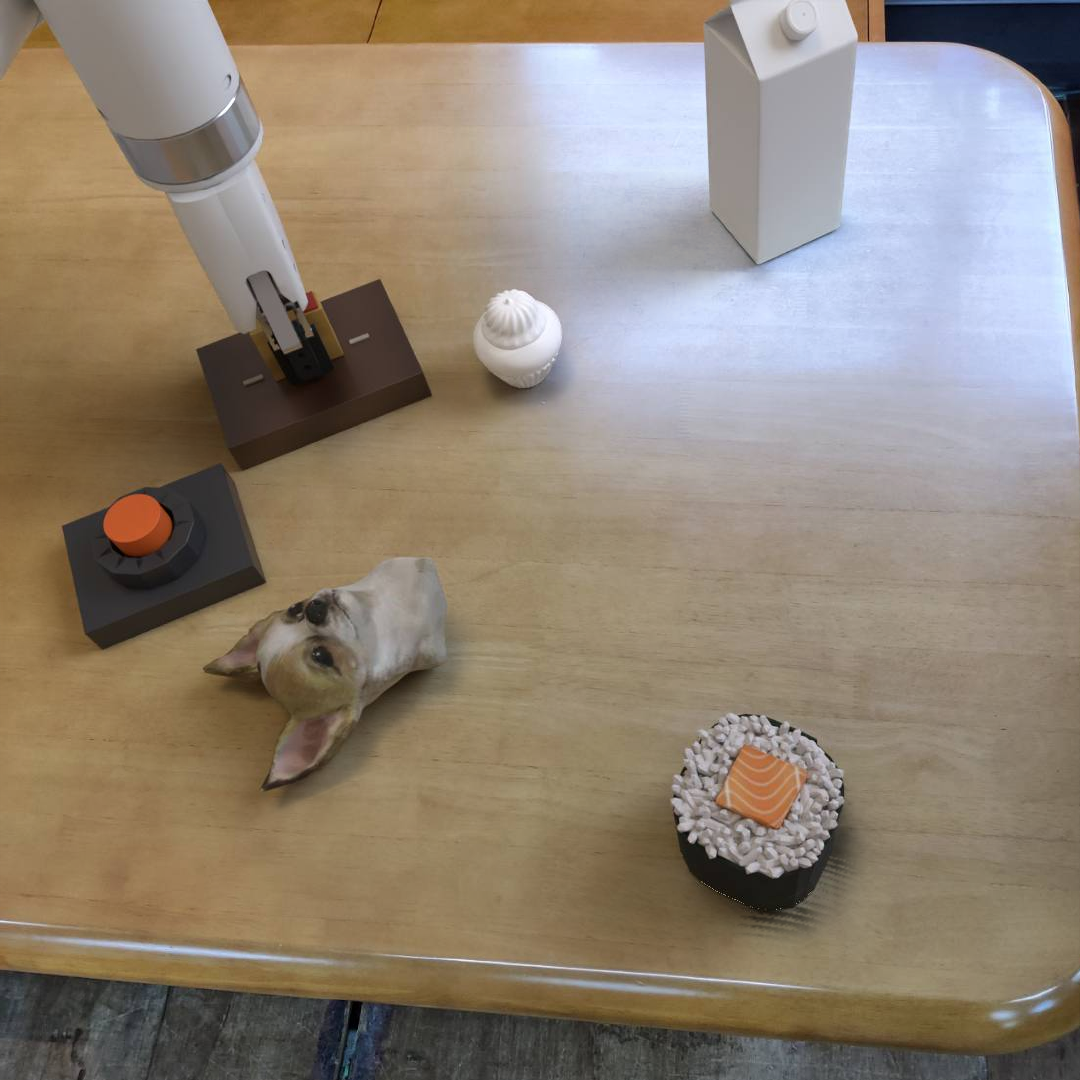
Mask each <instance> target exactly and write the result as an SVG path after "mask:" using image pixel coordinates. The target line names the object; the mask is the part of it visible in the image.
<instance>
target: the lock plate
mask: <svg viewBox="0 0 1080 1080" xmlns="http://www.w3.org/2000/svg"><path fill="white" fill-rule="evenodd" d="M320 302H321V305H322V307H323V309H324V311H325V313H326V315H327V318H328V320H329V322H330V324H331V326H332V328H333V331H334V333H335V335H336V337H337V339H338V342H339V344H340V347H341V349H342V351H343V354H344V355H343V356H340V357H338V358H335V359H332V360H331V361H332V363H333V366H334V369H333V371H332V372H330V373H327V374H324V375H322V376H319V377H317V378H314V379H312V380H309V381H307V382H304V383H301V384H299V385H296V386H292V385H290V384H289V382H288V380H287V378H284V379H281V380H278V381H275V379H274V377H273V375H272V374H271V372H270V370H269V368H268V366H267V365H266V363H265V361H264V359H263V357H262V356H261V354H260V352H259V350H258V349H257V347H256V345H255V343H254V341H253V340H252V338H251V336H250V333H249V332H247V333H246V334H242V333H240V332H237V333H235V334H232V335H229V336H226V337H224V338H221V339H219V340H216V341H214V342H211V343H208V344H206V345H203V346H200V347H198V348H196V349H195V351H196V354H197V357H198V361H199V364H200V367H201V369H202V372H203V376H204V379H205V383H206V384H207V388H208V391H209V392H208V393H209V395H210V398H211V401H212V404H213V407H214V410H215V413H216V416H217V420H218V422H219V426H220V429H221V431H222V435H223V439H224V441H225V444H226V447H227V450H228V452H229V453H230V454H231V456H232V457H233V459H234V460H235V463H237V465H238V467H239V468H240V469H241V471H242V472H244V471H246V470H249V469H251V468H254V467H257V466H259V465H261V464H264V463H267V462H269V461H271V460H274V459H277V458H279V457H281V456H284V455H287V454H289V453H292V452H295V451H297V450H299V449H303V448H304V447H307V446H309V445H312V444H314V443H317V442H319V441H321V440H324V439H327V438H329V437H332V436H335V435H337V434H339V433H342V432H344V431H347V430H350V429H353V428H355V427H358V426H359V425H362V424H364V423H367V422H369V421H372V420H375V419H377V418H380V417H383V416H385V415H387V414H389V413H393V412H395V411H397V410H400V409H402V408H405V407H407V406H409V405H412V404H415V403H418V402H421V401H422V400H425V399H428V398H430V397H432V392H431V388H430V387H429V383H428V381H427V379H426V376H425V373H424V371H423V369H422V367H421V364H420V362H419V360H418V358H417V356H416V353H415V351H414V349H413V346H412V344H411V343H410V341H409V338H408V336H407V333H406V332H405V329H404V328H403V325H402V323H401V321H400V319H399V317H398V314H397V312H396V310H395V307H394V305H393V304H392V301H391V299H390V297H389V295H388V292H387V290H386V288H385V286H384V283H383V282H382V280H381V279H380V278H378V279H376V280H373V281H370V282H368V283H365V284H362V285H360V286H357V287H355V288H352V289H349V290H347V291H344V292H342V293H339V294H337V295H334V296H331V297H329V298H326V299H323V300H320Z"/></svg>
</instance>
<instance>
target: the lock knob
mask: <svg viewBox="0 0 1080 1080" xmlns="http://www.w3.org/2000/svg"><path fill="white" fill-rule="evenodd" d="M305 293H306V296H307V300H308V304H307V306H306V308H305V310H304V311H303V312H304V314H305V316H306V318H307V320H308V322H309V324H310V325H311V324H314V325H315V327H316V330H317V332H318V334H319V336H320V338H321V340H322V342H323V344H324V346H325V348H326V350H327V352H328V354H329V357H330V359H331V360H332V359H335V358H338V357H340V356H343V355H344V354H343V351H342V349H341V347H340V344H339V342H338V339H337V337H336V335H335V333H334V331H333V328H332V326H331V324H330V322H329V320H328V318H327V315H326V313H325V311H324V309H323V307H322V305H321V300H320V299H319V296H318V293H317V292H316V291H312V290H311V291H307V292H305ZM287 313H288V315H289V317H290V319H291V322H293V321H298V320H297V318H296V316H295V314H294V312H293V310H290V311H288V312H287ZM249 333H250V336H251V338H252V340H253V341H254V343H255V345H256V347H257V349H258V350H259V352H260V354H261V356H262V357H263V359H264V361H265V363H266V365H267V366H268V368H269V370H270V372H271V374H272V375H273V377H274V379H275V381H278V380H281V379H284V378H286V377H285V375H284V373H283V371H282V369H281V367H280V366H279V364H278V362H277V360H276V358H275V356H274V355H273V353H272V351H271V349H270V347H269V345H268V342H267V341H269V340H268V338H267V336H266V334H265V332H264V331H263V329H262V327H261V325H260V323H259V321H258V319H257V318H256V330H253V331H250V332H249Z"/></svg>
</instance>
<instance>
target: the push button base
mask: <svg viewBox="0 0 1080 1080" xmlns="http://www.w3.org/2000/svg"><path fill="white" fill-rule="evenodd" d="M135 494H144V495H148V496H151V497H153V498H154V499H155V500H156V501H157V502H158V503H159V504H160V506H161V507H162V508H163V509H164V511H165V512H166V513H167V514H168V515H169V517H170V518H171V520H172V524H173V529H172V534H171V536H170V538H169V540H168V541H167V542H166V543H165V544H164V545H163V546H162V547H161V548H160V549H159V550H158V551H156V552H154V553H152V554H149V555H147V556H144V557H132V556H128V555H126V554H124V553H123V552H122V551H121V550H120V549H119V548H118V547H117V546H116V545H115V544H114V543H113V542H112V541H111V540H110V538H109V537H108V536H107V535H106V533H105V531H104V527H103V523H104V518H105V516H106V514H107V512H108V510H109V509H110V508H111V507H112V506H113V505H114V504H115V503H116V502H118V501H119V500H121V499H123V498H125V497H127V496H130V495H135ZM61 529H62V534H63V538H64V544H65V547H66V553H67V558H68V562H69V566H70V572H71V577H72V581H73V585H74V590H75V595H76V599H77V605H78V608H79V613H80V619H81V623H82V628H83V633H84V635H85V636H86V637H88V638H89V639H90V640H91V641H92V642H93V643H95V645H97V646H98V647H99V648H100V649H101V650H102V651H103V650H107V648H110V647H111V648H112V647H113V646H116V645H118V644H120V643H124V642H125V641H128V640H130V639H132V638H135V637H137V636H140V635H142V634H144V633H147V632H149V631H152V630H155V629H156V628H159V627H162V626H164V625H166V624H169V623H171V622H173V621H176V620H179V619H181V618H183V617H186V616H188V615H191V614H193V613H196V612H198V611H201V610H203V609H205V608H208V607H210V606H212V605H214V604H215V605H216V604H218V603H220V602H223V601H225V600H227V599H229V598H233V597H235V596H237V595H239V594H242V593H244V592H247V591H250V590H251V589H254V588H256V587H259V586H262V585H265V584H267V579H266V576H265V573H264V570H263V566H262V564H261V561H260V558H259V554H258V552H257V551H258V550H257V548H256V545H255V542H254V539H253V536H252V532H251V529H250V527H249V524H248V520H247V517H246V514H245V510H244V508H243V505H242V502H241V498H240V495H239V493H238V489H237V486H236V482H235V480H234V479H233V478H232V476H231V475H230V474H229V472H228V470H227V469H226V467H225V466H224V465H223V463H222V462H220V463H217V464H214V465H211V466H208V467H207V468H204V469H201V470H199V471H196V472H195V473H191V474H188V475H187V476H184V477H181V478H179V479H176V480H174V481H171V482H169V483H166V484H164V485H162V486H159V487H156V486H144V487H141V488H139V489H136V490H134V491H131V492H129V493H127V494H124V495H121V496H119V497H118V498H117V499H115V501H113V503H112V504H110V505H109V506H108V507H106V508H103V509H101V510H98V511H96V512H93V513H90V514H88V515H85V516H83V517H79V518H77V519H75V520H73V521H70V522H68V523H65V524H62V525H61Z"/></svg>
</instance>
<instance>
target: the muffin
mask: <svg viewBox="0 0 1080 1080" xmlns="http://www.w3.org/2000/svg"><path fill="white" fill-rule="evenodd" d="M484 308H485V312H483V314H482V315H481V316H480V317H479V319H478V320H477V323H476V324H475V327H474V329H473V333H472V346H473V350H474V352H475V354H476V357H477V358H478V360H479V361H480V362H481V363H482V365H484V367H486V368H487V371H489V372H490V373H492V374H493V375H494V376H496V377H497V378H499V379H500V380H502V381H503V382H505V383H506V384H508V385H509V386H512V387H514V388H518V389H529V388H533V387H534V386H538V384H542V382H544V380H545V379H546V378H547V376H548V375H549V373H550V371H551V370H552V367H553V366H554V363H555V361H556V360H557V358H558V356H559V352H560V347H561V345H562V341H563V329H562V325H561V322H560V319H559V317H558V315H557V313H556V312H555V311H554V310H553V309H552V308H551V307H550V306H548V305H547V304H546V303H544V302H542V301H539V300H537V299H535V298H534V297H533V296H531V295H530V294H528V293H527V291H524V290H518V289H515V288H513V289H511V290H507V289H504V290H503V291H502V292H501V293H500V292H498V293H496V294H495V297H490V299H489V303H488V304H487V305H485V307H484Z"/></svg>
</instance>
